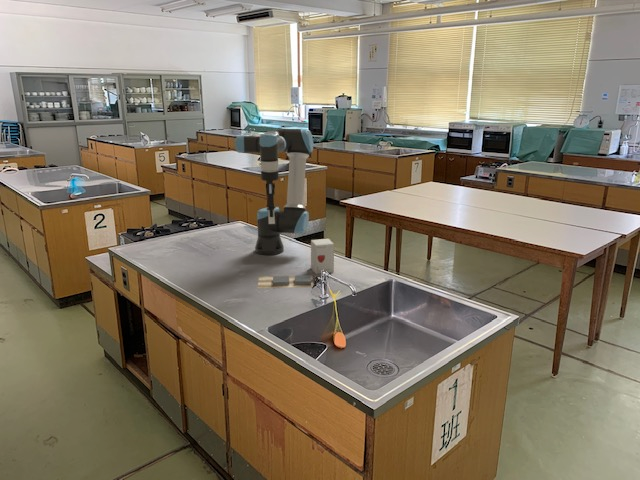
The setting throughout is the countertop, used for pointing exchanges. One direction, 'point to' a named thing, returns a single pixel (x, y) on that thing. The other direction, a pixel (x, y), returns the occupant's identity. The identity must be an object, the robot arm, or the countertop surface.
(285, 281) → the tile
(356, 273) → the countertop surface
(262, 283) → the board
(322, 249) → the supplement box
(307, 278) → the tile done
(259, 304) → the countertop surface
